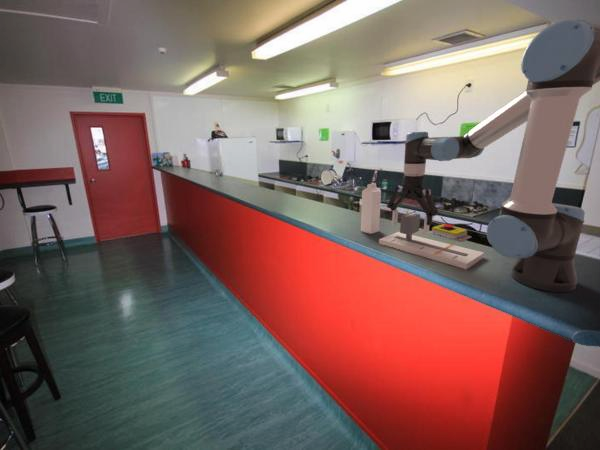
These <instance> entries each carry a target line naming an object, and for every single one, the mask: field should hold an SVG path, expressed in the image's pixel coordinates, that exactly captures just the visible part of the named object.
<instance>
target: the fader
mask: <svg viewBox="0 0 600 450" xmlns="http://www.w3.org/2000/svg"><path fill="white" fill-rule="evenodd" d="M420 221H421V213H417V212H408V213H405V214H402V215H400V226H399V227H400V228H399V232H400V233H403V234H406V239H407V240H411V239H412V235H413V234H416V233H417V232H419V231H420Z"/></svg>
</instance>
